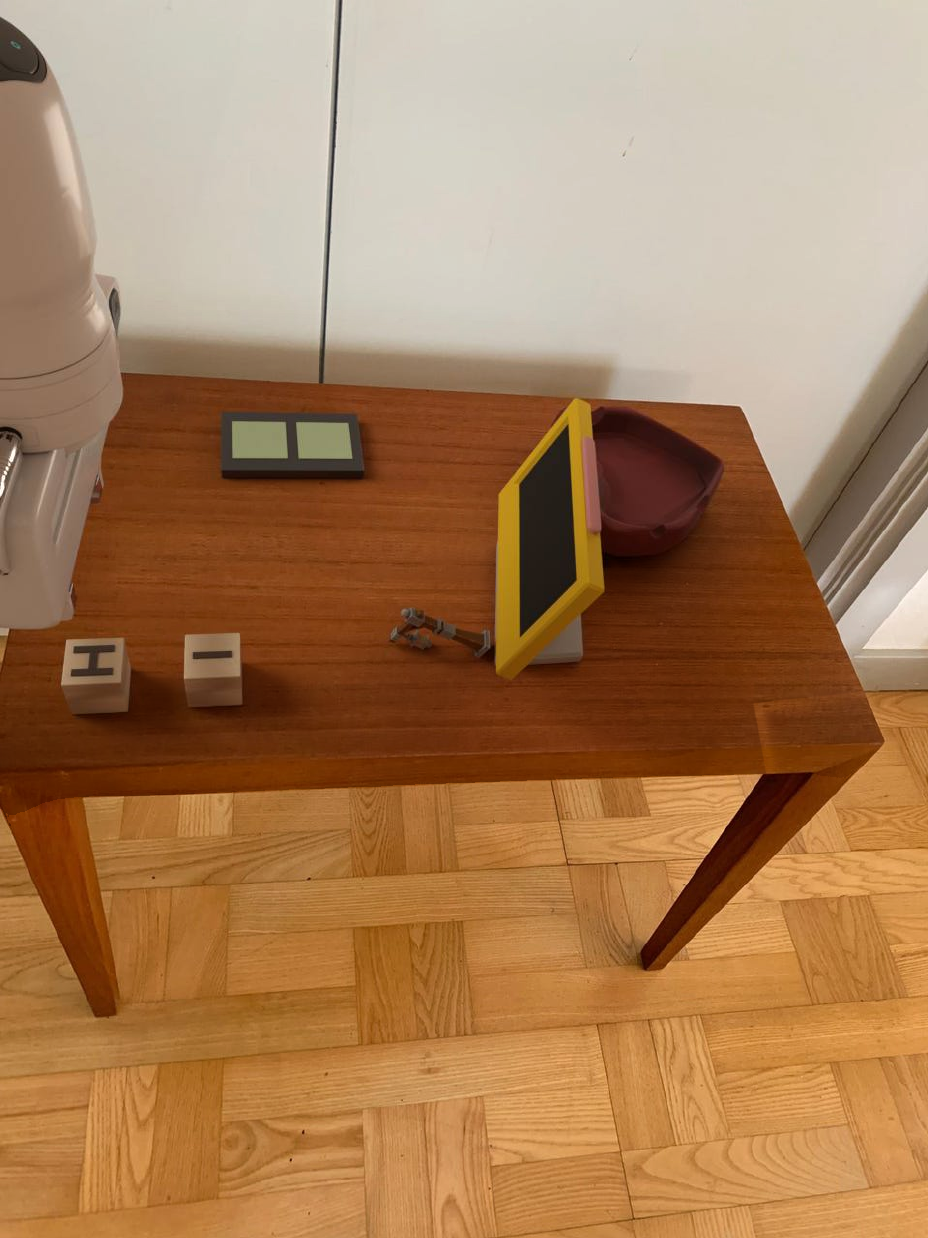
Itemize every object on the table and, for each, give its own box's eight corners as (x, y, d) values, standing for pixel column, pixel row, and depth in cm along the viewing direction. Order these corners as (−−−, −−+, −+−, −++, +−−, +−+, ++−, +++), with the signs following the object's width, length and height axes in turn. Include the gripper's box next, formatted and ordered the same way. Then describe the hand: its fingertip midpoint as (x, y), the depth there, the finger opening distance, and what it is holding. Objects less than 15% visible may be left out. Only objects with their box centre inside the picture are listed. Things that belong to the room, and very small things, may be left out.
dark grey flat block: (221, 478, 85) (221, 469, 84) (221, 419, 89) (221, 410, 89) (363, 478, 88) (364, 469, 87) (356, 421, 92) (357, 412, 91)
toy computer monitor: (491, 519, 87) (526, 385, 75) (573, 530, 88) (621, 399, 75) (487, 699, 75) (528, 574, 62) (582, 709, 75) (641, 588, 63)
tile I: (188, 707, 70) (183, 678, 67) (189, 664, 72) (184, 633, 69) (242, 705, 71) (240, 675, 68) (241, 662, 73) (239, 631, 70)
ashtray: (741, 564, 88) (763, 528, 85) (582, 574, 84) (596, 537, 81) (678, 436, 99) (695, 399, 95) (533, 440, 95) (544, 402, 91)
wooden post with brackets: (379, 626, 76) (407, 597, 73) (461, 655, 80) (490, 628, 77) (378, 644, 75) (406, 615, 72) (461, 673, 79) (491, 646, 76)
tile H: (70, 715, 68) (60, 684, 65) (75, 669, 71) (65, 638, 67) (128, 712, 69) (120, 682, 66) (131, 667, 71) (123, 636, 68)
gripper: (51, 525, 41) (100, 693, 52) (123, 262, 53) (150, 442, 64) (-104, 517, 40) (-21, 690, 51) (6, 250, 52) (53, 436, 63)
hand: (75, 550), depth 57 cm, fingers open, 8 cm apart
